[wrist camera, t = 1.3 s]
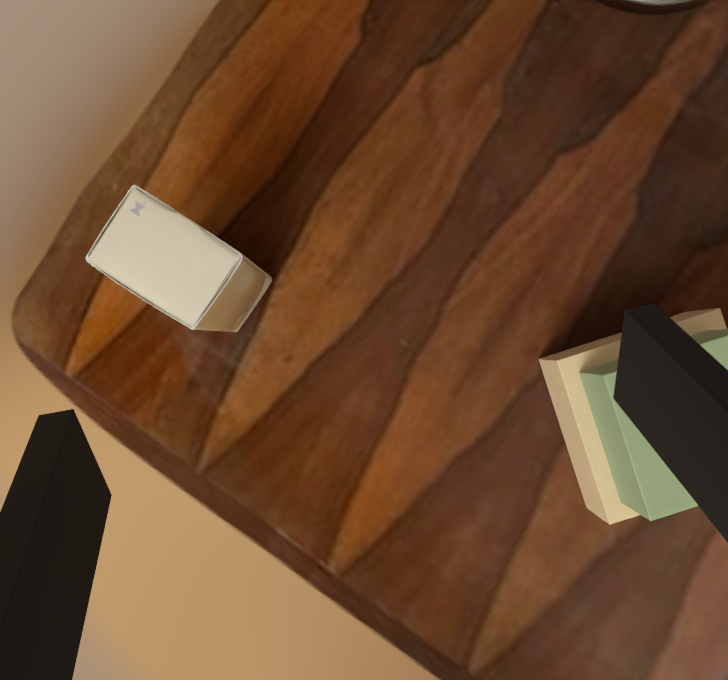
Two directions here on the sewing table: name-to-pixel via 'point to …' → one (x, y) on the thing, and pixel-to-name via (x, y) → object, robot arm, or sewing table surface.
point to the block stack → (619, 426)
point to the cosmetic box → (177, 265)
